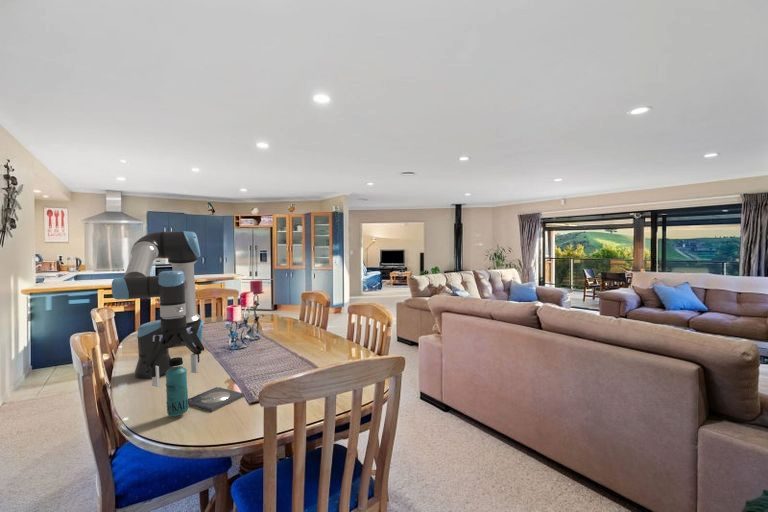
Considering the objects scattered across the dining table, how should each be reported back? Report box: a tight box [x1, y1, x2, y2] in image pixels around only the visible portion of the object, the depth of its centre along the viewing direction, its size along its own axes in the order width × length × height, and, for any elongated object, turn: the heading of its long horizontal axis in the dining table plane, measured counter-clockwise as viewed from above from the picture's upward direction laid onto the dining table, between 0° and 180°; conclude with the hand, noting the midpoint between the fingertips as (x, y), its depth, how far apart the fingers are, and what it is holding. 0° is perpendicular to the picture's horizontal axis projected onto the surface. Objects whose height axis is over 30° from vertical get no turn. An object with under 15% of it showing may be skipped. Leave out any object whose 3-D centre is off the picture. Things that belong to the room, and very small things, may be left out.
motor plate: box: [188, 386, 245, 413], centre depth 138 cm, size 16×14×1 cm
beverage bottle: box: [165, 356, 190, 417], centre depth 126 cm, size 6×7×20 cm
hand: (176, 379), depth 125 cm, fingers open, 13 cm apart
